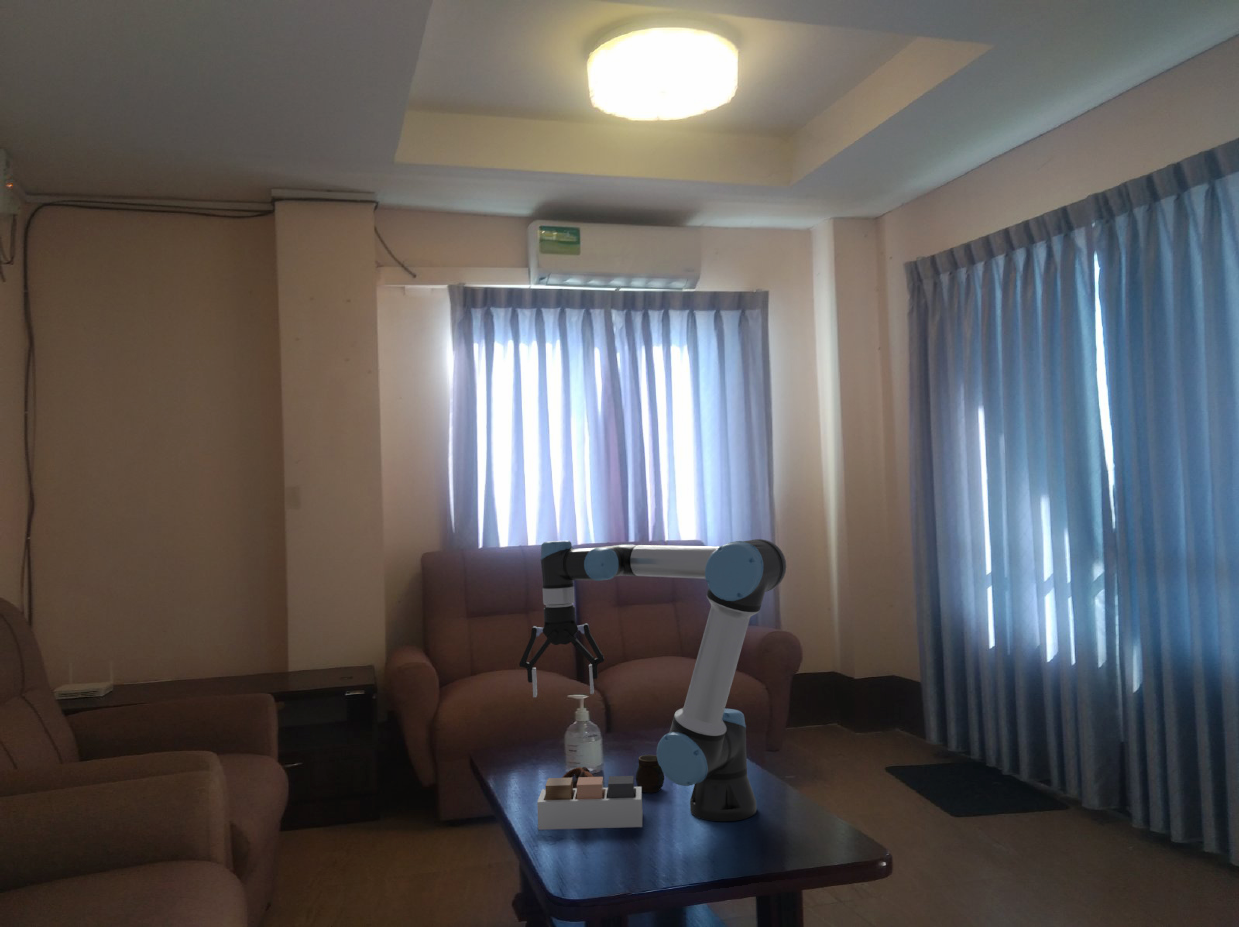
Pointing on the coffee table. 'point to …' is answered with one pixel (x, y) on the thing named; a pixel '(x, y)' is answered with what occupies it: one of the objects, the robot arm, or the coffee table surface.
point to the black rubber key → (621, 787)
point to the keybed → (590, 812)
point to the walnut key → (559, 789)
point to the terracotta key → (590, 788)
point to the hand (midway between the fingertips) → (563, 694)
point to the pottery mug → (578, 774)
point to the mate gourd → (649, 774)
